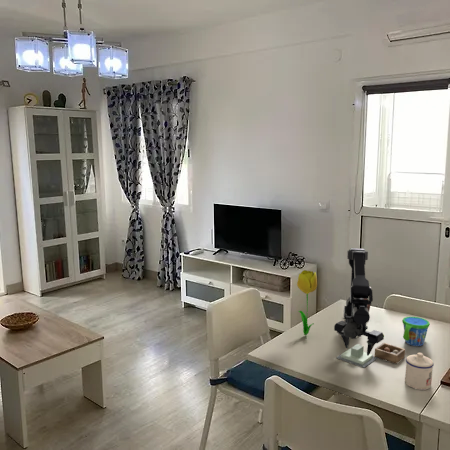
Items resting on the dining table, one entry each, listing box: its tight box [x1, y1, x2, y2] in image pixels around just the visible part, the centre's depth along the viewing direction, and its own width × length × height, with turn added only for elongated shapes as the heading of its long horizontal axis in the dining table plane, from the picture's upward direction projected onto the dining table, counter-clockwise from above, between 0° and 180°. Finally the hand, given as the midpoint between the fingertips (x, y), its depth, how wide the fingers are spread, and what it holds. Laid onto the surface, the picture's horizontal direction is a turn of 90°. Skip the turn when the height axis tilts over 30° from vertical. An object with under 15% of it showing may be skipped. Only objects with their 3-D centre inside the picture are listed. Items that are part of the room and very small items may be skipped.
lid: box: [340, 343, 374, 365], centre depth 184 cm, size 9×8×4 cm
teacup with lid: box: [404, 352, 435, 391], centre depth 165 cm, size 12×9×12 cm
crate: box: [374, 342, 406, 365], centre depth 185 cm, size 9×8×4 cm
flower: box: [296, 269, 318, 336], centre depth 203 cm, size 9×8×30 cm
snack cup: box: [401, 316, 430, 347], centre depth 197 cm, size 16×10×10 cm
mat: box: [336, 350, 379, 369], centre depth 184 cm, size 12×11×1 cm
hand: (357, 351), depth 184 cm, fingers open, 9 cm apart
